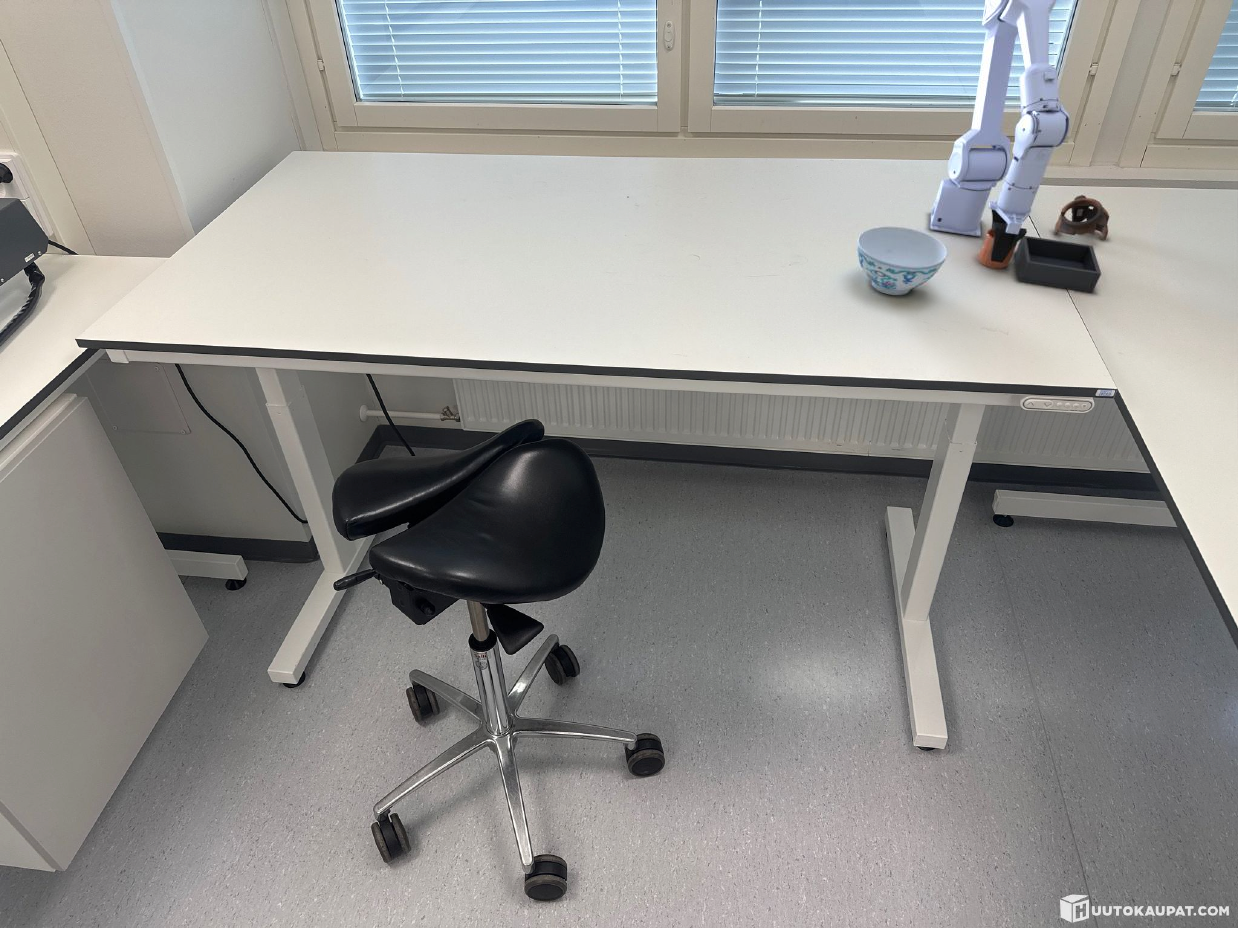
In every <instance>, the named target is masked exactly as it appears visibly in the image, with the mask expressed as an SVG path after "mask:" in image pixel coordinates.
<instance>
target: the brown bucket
mask: <svg viewBox="0 0 1238 928" xmlns="http://www.w3.org/2000/svg"><path fill="white" fill-rule="evenodd" d="M985 233H986V234H985V236H984V239H983V241H982V245H981V247H980V250H979V253H978V255H977V256H978V258H977V259H978V261H979V263H980V264H981V265H983V266H985V267H987V268H990V269H1004V268H1006V267H1007V266H1008V265H1009V264H1010V263H1011V260H1012V258H1013V254H1014V252H1015V251H1016V250H1015V249H1016V248H1017V244H1018V242H1017V243H1016V244H1015V246H1014V247H1013V248H1012V250H1011V251H1010V253H1009V254H1008V256H1007V257H1006V259H1005V260H1004V261H1003V263H1000V262H993V261H991V252H992V247H993V242H994V229H992V228H990V229H988V230H986V232H985Z"/></svg>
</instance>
